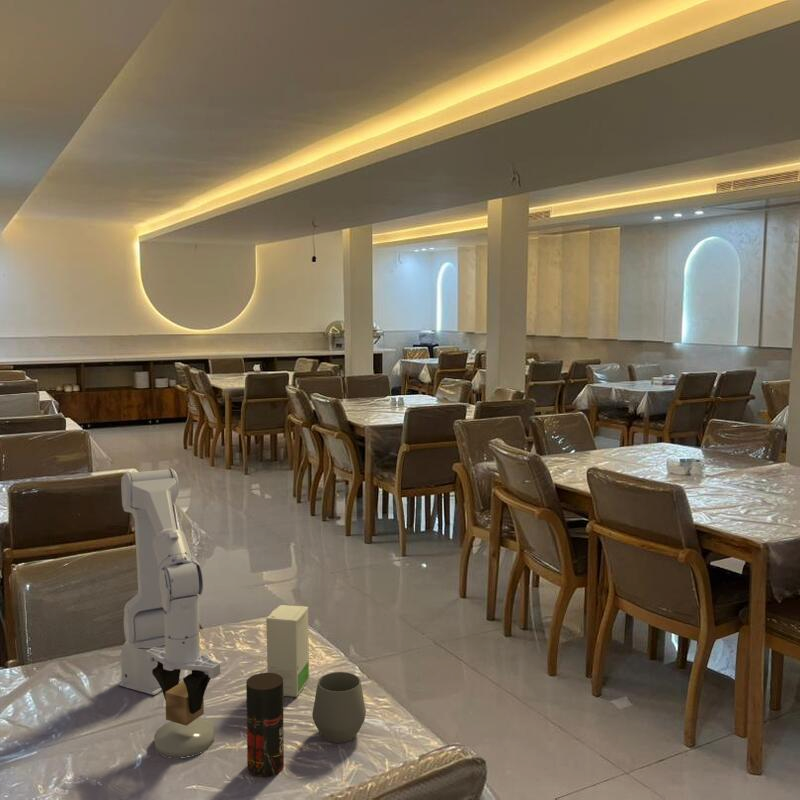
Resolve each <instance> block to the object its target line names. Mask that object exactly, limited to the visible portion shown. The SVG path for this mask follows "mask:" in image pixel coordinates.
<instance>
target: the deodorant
mask: <svg viewBox="0 0 800 800" xmlns="http://www.w3.org/2000/svg"><path fill="white" fill-rule="evenodd" d="M245 681H246V688H245V689H246V743H247V744H246V746H247V747H246V750H247V751H246V752H247V753H246V756H247V757H246V758H247V759H246V760H247V762H246V763H247V766H246V768H247V772H248V774H249V775H251V776H252V777H255V778H260V779H261V778H262V779H263V778H265V779H266V778H271V777H274V776H276V775H279V774H280V773H281V772H282V771H283V769H284V767H285V763H284V762H285V761H284V760H285V758H284V757H285V755H284V753H285V749H284V748H285V747H284V746H285V745H284V744H285V742H284V740H285V739H284V737H285V735H284V733H285V732H284V696H283V678H282V677H281V676H280V675H278V674H275V673H267V672H260V673H256V674H254V675H251V676H250V677H248V678H247V680H245Z"/></svg>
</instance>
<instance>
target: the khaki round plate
mask: <svg viewBox="0 0 800 800" xmlns="http://www.w3.org/2000/svg"><path fill="white" fill-rule="evenodd" d="M153 740H154V750H155V751H157V752H158V753H159V754H158V753H157V752H156V753H157V754H158V755H160V756H161V755H163V756H162V757H164V756H166V757H165V758H167V757H171V758H170V759H174V758H181V757H187V756H192V755H196V754H198V753H200V752H203V751H204V752H206V751H207V750H209V749H210V748H211V747H212V745H213V744H214V742H215V727H214V726H213V724H212V723H211V721H208V720H206V719H202V718H200V717H198V718H197V719H195V720H194V721H193V722H191V723H190V724H188V725H187V726H186V725H182V724H179V723H175V722H172V721H170V722H167V723H165V724H163V725H161V726H160V727H159V728H158V729H157V730H156V731H155V733H154V739H153ZM212 743H213V744H212ZM210 746H211V747H210ZM209 747H210V748H209ZM208 748H209V749H208ZM205 750H206V751H205ZM204 752H203V753H204ZM198 755H199V754H198ZM196 756H197V755H196ZM192 757H193V756H192ZM181 759H182V758H181Z"/></svg>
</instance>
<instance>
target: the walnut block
mask: <svg viewBox="0 0 800 800" xmlns="http://www.w3.org/2000/svg"><path fill="white" fill-rule="evenodd" d="M165 699H166V701H165V720H166V721H170V722H175V723H179V724H182V725H186V726H187V725H188V724H190V723H191V722H193V721H194V720H195V719H197V718H200V717H202V716H203V715H204V713H205V711H204V708H205V705H204V704H205V703H204V702H205V701H204V699H203V700H202V705H201V709H200V710H198V711H197V712H196V713H194V714H192V713H190V710H189V700H188V692H187V688H186V685H185V683H184V681H181V682H179V684H178V685H176V686H174V687H173V688H171V689H170V690H168V691H166V692H165V698H164V700H165Z"/></svg>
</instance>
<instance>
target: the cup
mask: <svg viewBox="0 0 800 800" xmlns="http://www.w3.org/2000/svg"><path fill="white" fill-rule="evenodd" d="M361 681H362V680H361V679H360V677H359V676H357V675H356V674H354V673H351V672H348V671H347V672H346V671H333V672H329V673H326V674H324V675H322V676H321V677H320V678H318V682H317V686H316V691H315V697H314V703H313V707H312V708H313V709H312V715H311V716H312V720H313V723H314V725H315V727H316V728H317V730H318V732H319V734H320V736H321V737H322V738H323V739H324V740H326V741H328V742H329V743H336V744H337V743H339V744H340V743H341V744H342V743H346V742H349V741H351V740H353V739H354V738H356V736H357V735H358V734H359V732H360V730H361V728H362V726H363V724H364V723H365V720H366V713H367V711H366V705H365V699H364V694H363V688H362V682H361Z"/></svg>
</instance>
